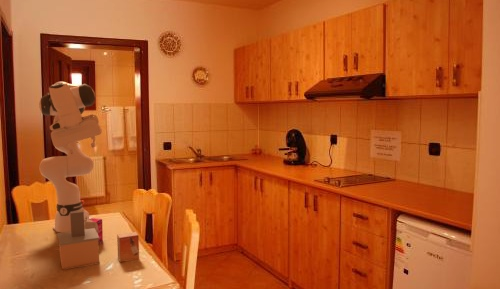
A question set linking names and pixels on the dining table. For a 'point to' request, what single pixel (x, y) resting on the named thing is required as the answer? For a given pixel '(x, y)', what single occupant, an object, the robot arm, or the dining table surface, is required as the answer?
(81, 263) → the large tan box
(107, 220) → the dining table surface
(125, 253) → the small box
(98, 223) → the supplement box
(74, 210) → the robot arm
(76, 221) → the grey plate with knob
